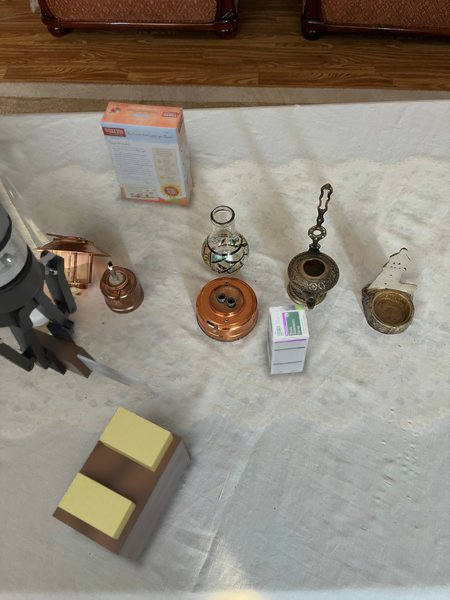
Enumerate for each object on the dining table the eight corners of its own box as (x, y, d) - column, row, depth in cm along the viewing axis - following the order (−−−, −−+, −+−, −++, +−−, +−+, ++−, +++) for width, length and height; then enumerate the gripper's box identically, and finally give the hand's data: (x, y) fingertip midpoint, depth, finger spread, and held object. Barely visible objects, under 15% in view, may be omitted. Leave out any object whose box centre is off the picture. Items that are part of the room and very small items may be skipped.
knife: (37, 356, 72) (19, 341, 69) (47, 342, 73) (31, 327, 70) (153, 407, 61) (138, 391, 58) (163, 389, 62) (150, 373, 59)
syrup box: (303, 373, 90) (312, 336, 77) (268, 376, 90) (272, 340, 77) (298, 342, 93) (306, 302, 80) (264, 345, 92) (267, 306, 80)
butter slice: (64, 509, 67) (57, 505, 64) (84, 476, 69) (78, 471, 66) (117, 539, 65) (112, 537, 62) (136, 505, 67) (132, 501, 64)
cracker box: (194, 186, 111) (183, 106, 93) (188, 208, 108) (176, 129, 90) (130, 179, 113) (108, 98, 95) (123, 200, 110) (98, 122, 92)
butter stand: (81, 528, 79) (51, 515, 67) (137, 433, 86) (119, 406, 73) (138, 562, 76) (117, 555, 64) (191, 461, 83) (181, 438, 71)
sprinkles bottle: (60, 328, 96) (34, 290, 84) (78, 341, 94) (54, 304, 82) (42, 347, 94) (13, 311, 82) (60, 360, 92) (33, 326, 81)
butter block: (104, 444, 71) (98, 439, 68) (123, 412, 73) (119, 405, 70) (154, 472, 69) (151, 467, 66) (173, 438, 71) (170, 432, 68)
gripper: (-35, 344, 46) (51, 422, 66) (70, 218, 52) (119, 324, 73) (-98, 309, 48) (5, 395, 68) (12, 192, 54) (75, 303, 75)
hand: (64, 358), depth 70 cm, fingers closed on knife, 2 cm apart
